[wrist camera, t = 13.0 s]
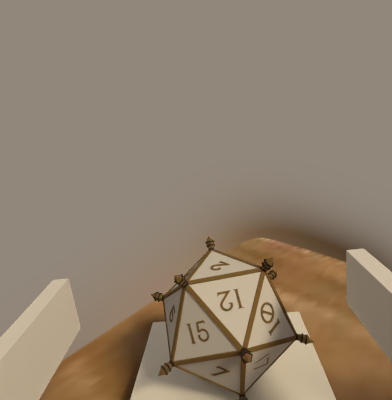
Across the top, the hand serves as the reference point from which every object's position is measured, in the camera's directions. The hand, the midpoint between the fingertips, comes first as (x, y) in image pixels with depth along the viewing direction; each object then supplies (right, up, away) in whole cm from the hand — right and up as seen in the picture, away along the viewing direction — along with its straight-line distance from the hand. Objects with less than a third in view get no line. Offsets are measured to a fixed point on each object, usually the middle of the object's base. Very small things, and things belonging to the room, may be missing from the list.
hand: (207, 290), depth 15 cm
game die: (+2, -7, +5) cm, 9 cm away
